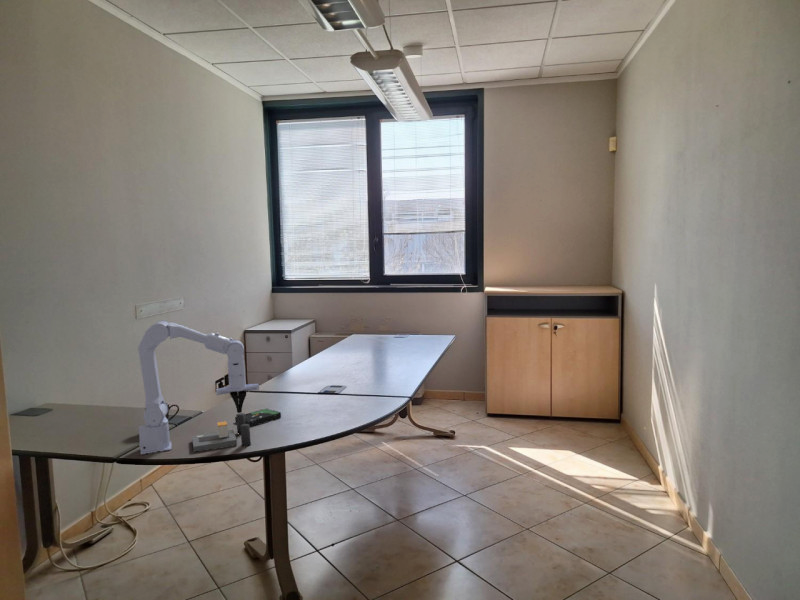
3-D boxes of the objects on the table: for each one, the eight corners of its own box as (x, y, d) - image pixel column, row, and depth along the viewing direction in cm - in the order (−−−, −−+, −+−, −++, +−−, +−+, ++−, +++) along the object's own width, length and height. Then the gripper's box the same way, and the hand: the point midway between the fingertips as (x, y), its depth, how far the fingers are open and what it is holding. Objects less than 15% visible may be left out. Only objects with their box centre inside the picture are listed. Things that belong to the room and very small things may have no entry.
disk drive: (249, 429, 205) (281, 418, 216) (249, 422, 205) (281, 411, 216) (234, 423, 212) (266, 414, 223) (234, 417, 212) (266, 407, 223)
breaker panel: (193, 452, 181) (193, 446, 180) (192, 441, 192) (192, 435, 192) (237, 445, 186) (236, 439, 186) (233, 434, 197) (233, 429, 197)
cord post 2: (242, 447, 184) (240, 427, 184) (241, 444, 187) (239, 424, 186) (251, 445, 185) (249, 425, 185) (250, 442, 188) (248, 423, 188)
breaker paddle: (218, 438, 187) (218, 425, 187) (218, 434, 191) (217, 422, 191) (227, 436, 189) (227, 424, 188) (226, 433, 192) (226, 421, 192)
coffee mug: (144, 435, 200) (142, 409, 199) (148, 428, 208) (146, 403, 207) (178, 431, 203) (176, 405, 202) (180, 424, 211) (178, 400, 210)
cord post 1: (237, 434, 197) (236, 416, 197) (236, 432, 200) (235, 413, 199) (246, 433, 198) (245, 414, 198) (245, 431, 201) (244, 412, 200)
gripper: (216, 379, 184) (218, 418, 185) (259, 374, 189) (261, 411, 190) (214, 375, 190) (217, 412, 191) (256, 370, 196) (258, 406, 197)
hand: (239, 412), depth 191 cm, fingers closed
